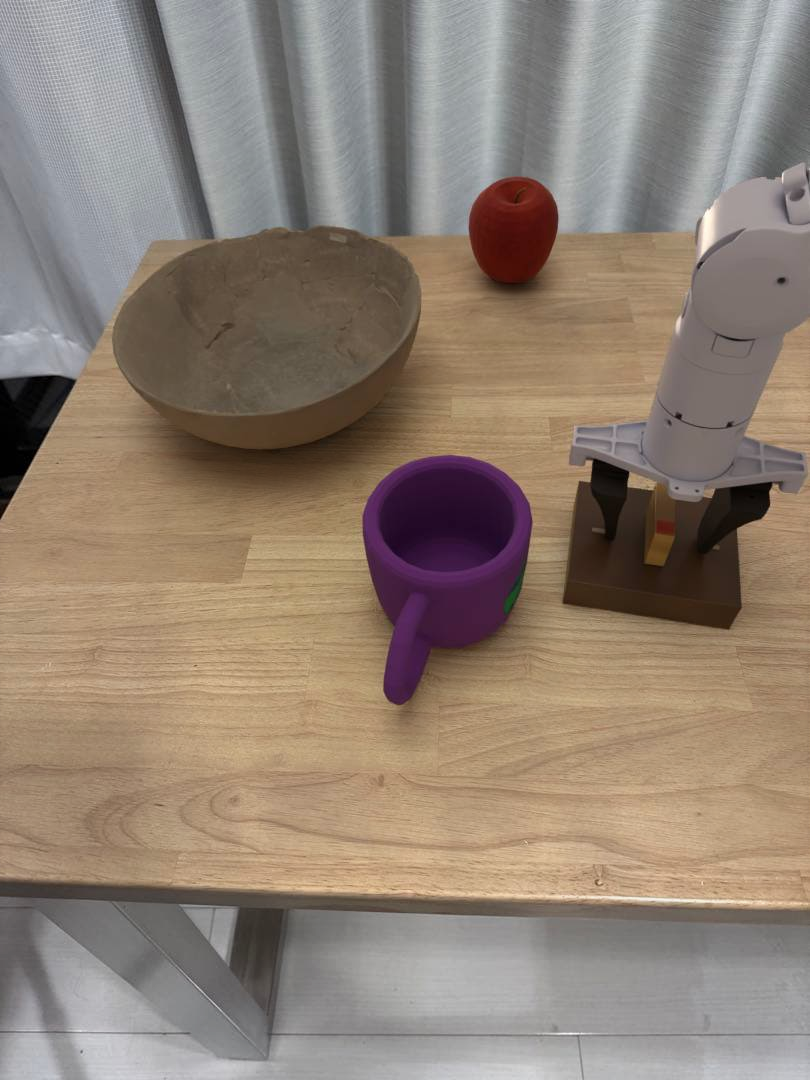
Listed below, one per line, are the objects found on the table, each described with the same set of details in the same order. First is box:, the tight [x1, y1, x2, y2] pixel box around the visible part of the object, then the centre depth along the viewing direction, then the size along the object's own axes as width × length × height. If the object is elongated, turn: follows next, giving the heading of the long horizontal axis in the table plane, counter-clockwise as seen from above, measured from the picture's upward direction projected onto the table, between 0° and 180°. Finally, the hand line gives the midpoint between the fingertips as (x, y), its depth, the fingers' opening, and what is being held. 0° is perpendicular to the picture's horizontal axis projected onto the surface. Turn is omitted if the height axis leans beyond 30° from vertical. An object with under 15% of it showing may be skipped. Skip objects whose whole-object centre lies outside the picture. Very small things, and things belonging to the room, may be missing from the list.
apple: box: [467, 176, 560, 284], centre depth 78 cm, size 10×10×10 cm
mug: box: [362, 454, 533, 706], centre depth 50 cm, size 17×11×10 cm, turn 160°
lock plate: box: [562, 480, 743, 630], centre depth 55 cm, size 12×10×3 cm
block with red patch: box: [644, 482, 675, 566], centre depth 53 cm, size 5×1×4 cm, turn 167°
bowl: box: [111, 224, 422, 450], centre depth 68 cm, size 28×28×10 cm
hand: (655, 536), depth 54 cm, fingers open, 6 cm apart
